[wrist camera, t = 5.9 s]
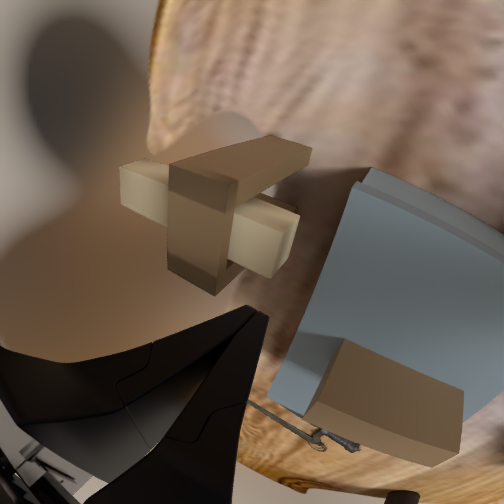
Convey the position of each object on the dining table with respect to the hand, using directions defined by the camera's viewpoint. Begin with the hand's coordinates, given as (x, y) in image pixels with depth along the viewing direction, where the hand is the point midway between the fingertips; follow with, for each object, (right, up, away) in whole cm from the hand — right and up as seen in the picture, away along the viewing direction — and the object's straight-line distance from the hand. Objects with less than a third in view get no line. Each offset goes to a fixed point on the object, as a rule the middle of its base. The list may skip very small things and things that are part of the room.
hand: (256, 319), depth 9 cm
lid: (+9, -5, +6) cm, 12 cm away
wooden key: (-2, +5, +6) cm, 8 cm away
